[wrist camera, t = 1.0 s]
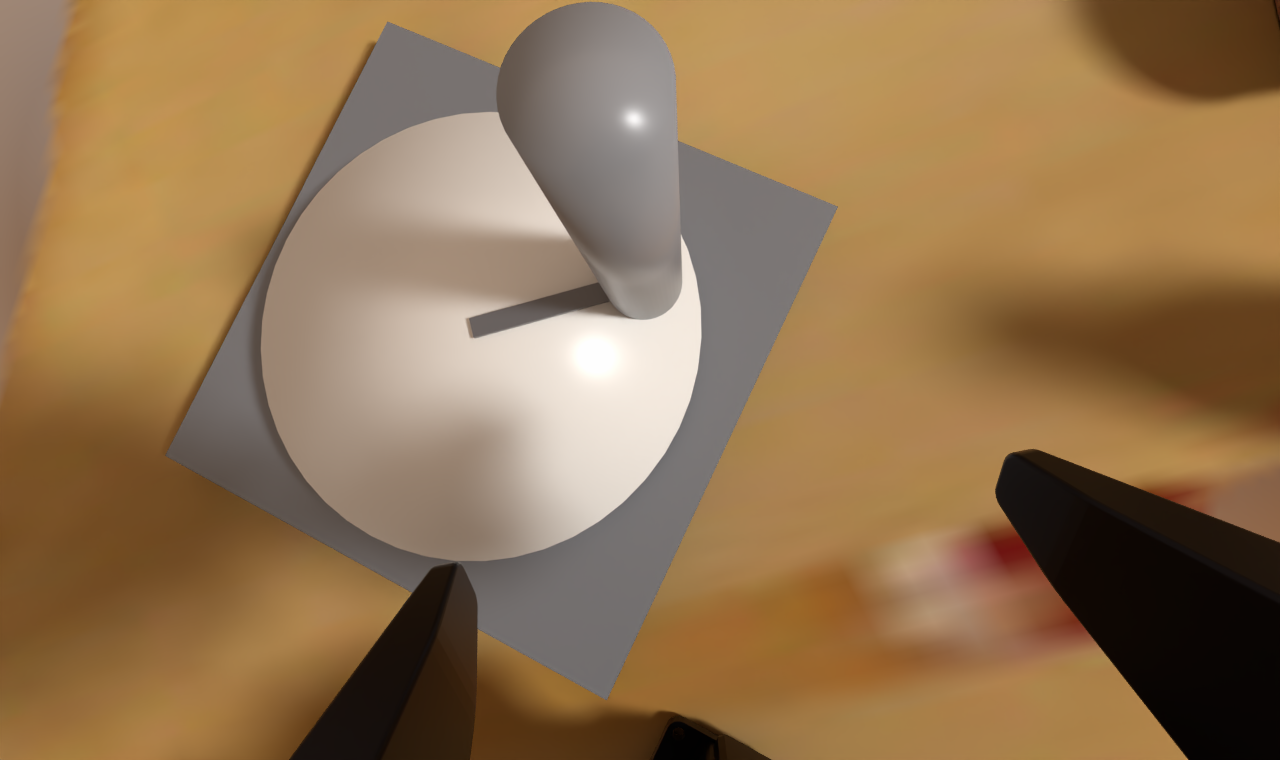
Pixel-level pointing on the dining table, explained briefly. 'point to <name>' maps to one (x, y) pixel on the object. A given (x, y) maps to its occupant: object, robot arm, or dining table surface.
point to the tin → (1278, 7)
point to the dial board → (666, 501)
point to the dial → (496, 304)
